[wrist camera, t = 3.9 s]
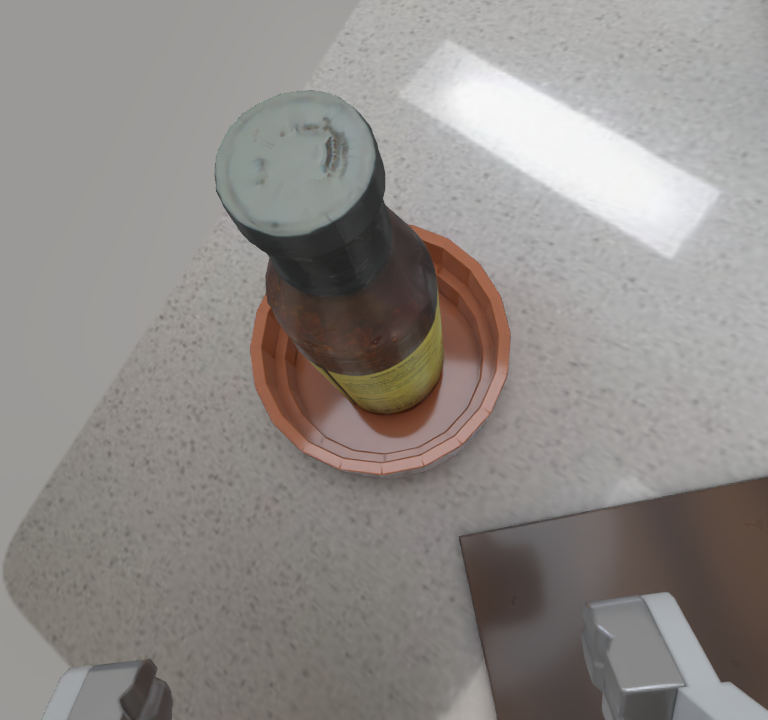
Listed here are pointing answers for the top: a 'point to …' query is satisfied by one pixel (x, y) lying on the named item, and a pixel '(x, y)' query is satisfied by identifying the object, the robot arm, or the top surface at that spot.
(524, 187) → the top surface
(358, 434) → the bowl
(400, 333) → the sauce bottle
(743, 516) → the board
